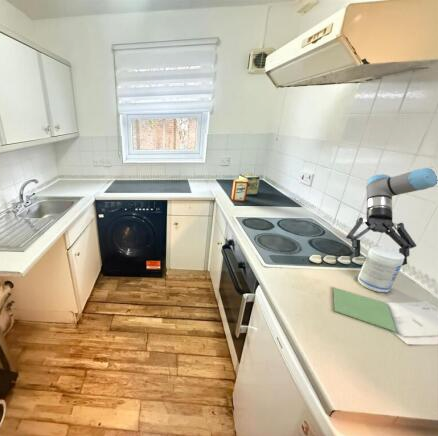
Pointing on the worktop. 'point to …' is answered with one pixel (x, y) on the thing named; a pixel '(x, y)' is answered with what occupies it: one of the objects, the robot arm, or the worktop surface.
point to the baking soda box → (239, 190)
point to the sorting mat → (363, 309)
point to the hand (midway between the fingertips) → (379, 260)
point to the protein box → (251, 183)
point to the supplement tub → (380, 269)
